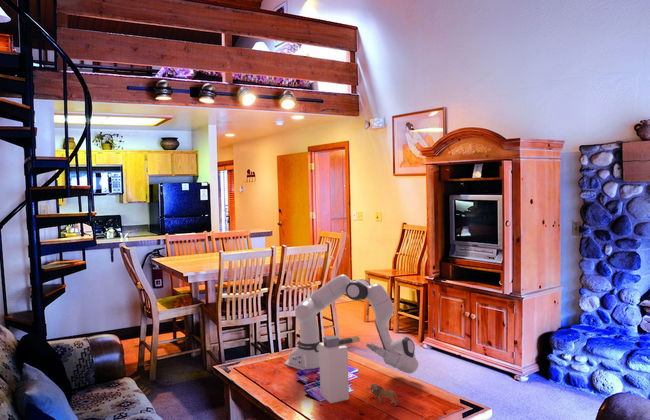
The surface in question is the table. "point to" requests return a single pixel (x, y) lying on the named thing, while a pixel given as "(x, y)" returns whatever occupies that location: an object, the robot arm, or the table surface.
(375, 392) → the lion figurine
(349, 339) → the dark grey elongated piece
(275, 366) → the table surface
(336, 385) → the stand
